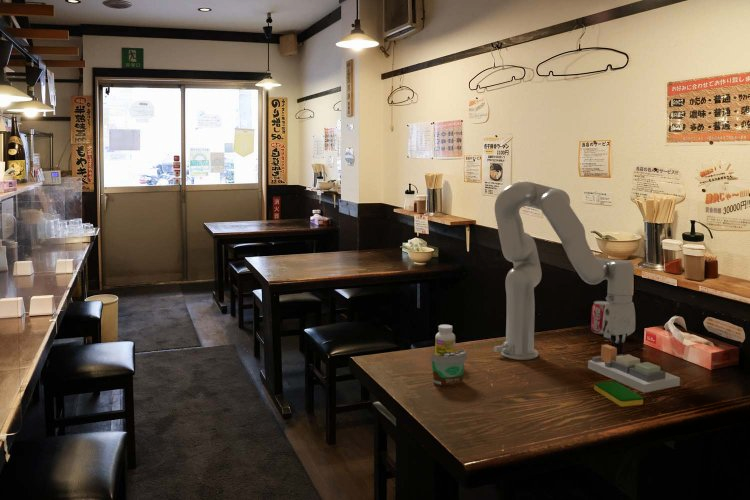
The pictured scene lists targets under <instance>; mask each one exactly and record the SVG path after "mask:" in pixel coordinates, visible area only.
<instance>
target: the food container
mask: <svg viewBox="0 0 750 500" xmlns="http://www.w3.org/2000/svg"><path fill="white" fill-rule="evenodd" d="M467 359H468V357H467V352H466V350H465V349H464V348H463V347H461V351H460V350H459V351H455V352H448V353H444V354H442V355H438V356H437V355H435V353H434V354H433V353H431V355H430V359H429V361H430V362H431V367H432V374H433V375H432V376H433V377H432V378H433V385H434V386H436V385H437V386H436V387H439V386H440V387H439V388H446V387H451V388H457V387H456V386H458V387H460V386H462V384H463V382H464V381H463V380H464V379H463V378H464V369H465V361H467ZM459 385H460V386H459Z"/></svg>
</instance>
